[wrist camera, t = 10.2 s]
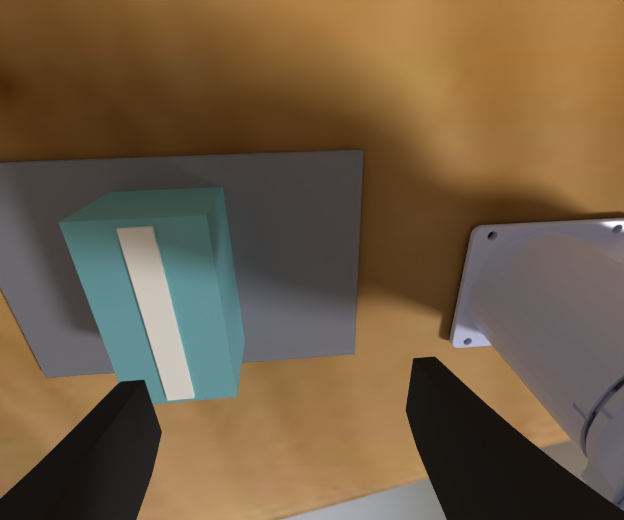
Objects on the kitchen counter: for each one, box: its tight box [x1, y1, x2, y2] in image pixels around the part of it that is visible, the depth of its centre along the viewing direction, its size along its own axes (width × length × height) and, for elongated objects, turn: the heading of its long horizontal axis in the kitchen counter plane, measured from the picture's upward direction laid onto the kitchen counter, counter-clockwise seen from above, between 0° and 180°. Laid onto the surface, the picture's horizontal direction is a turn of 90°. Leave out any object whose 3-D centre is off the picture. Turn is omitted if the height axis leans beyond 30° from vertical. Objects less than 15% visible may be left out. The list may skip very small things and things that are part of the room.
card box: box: [59, 187, 245, 404], centre depth 16 cm, size 9×5×4 cm, turn 1°
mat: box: [0, 149, 364, 378], centre depth 18 cm, size 18×12×1 cm, turn 91°
